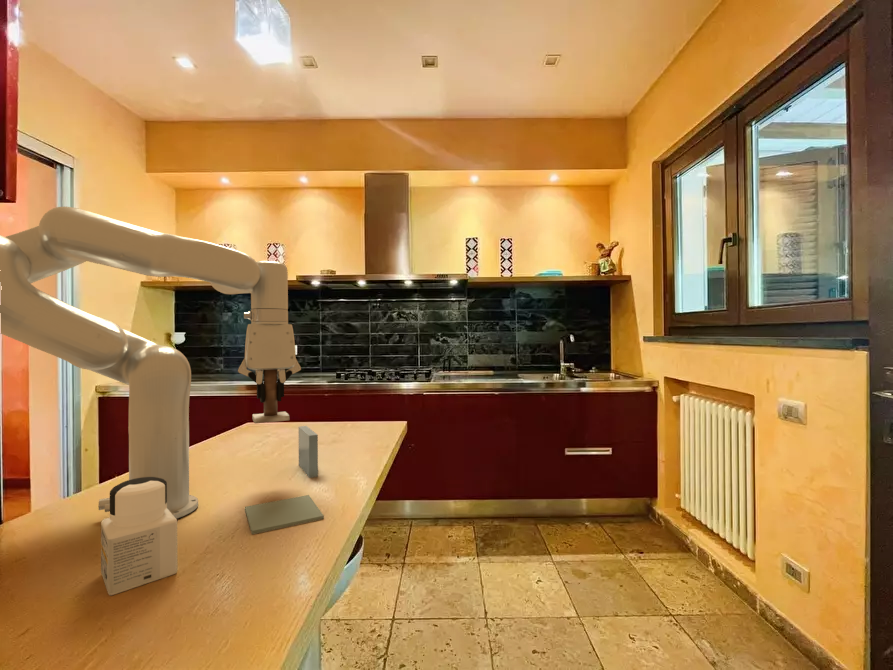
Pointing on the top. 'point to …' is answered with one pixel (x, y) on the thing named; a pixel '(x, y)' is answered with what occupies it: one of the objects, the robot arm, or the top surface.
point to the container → (138, 535)
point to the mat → (282, 514)
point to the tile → (308, 451)
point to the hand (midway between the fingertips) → (270, 400)
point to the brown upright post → (270, 400)
